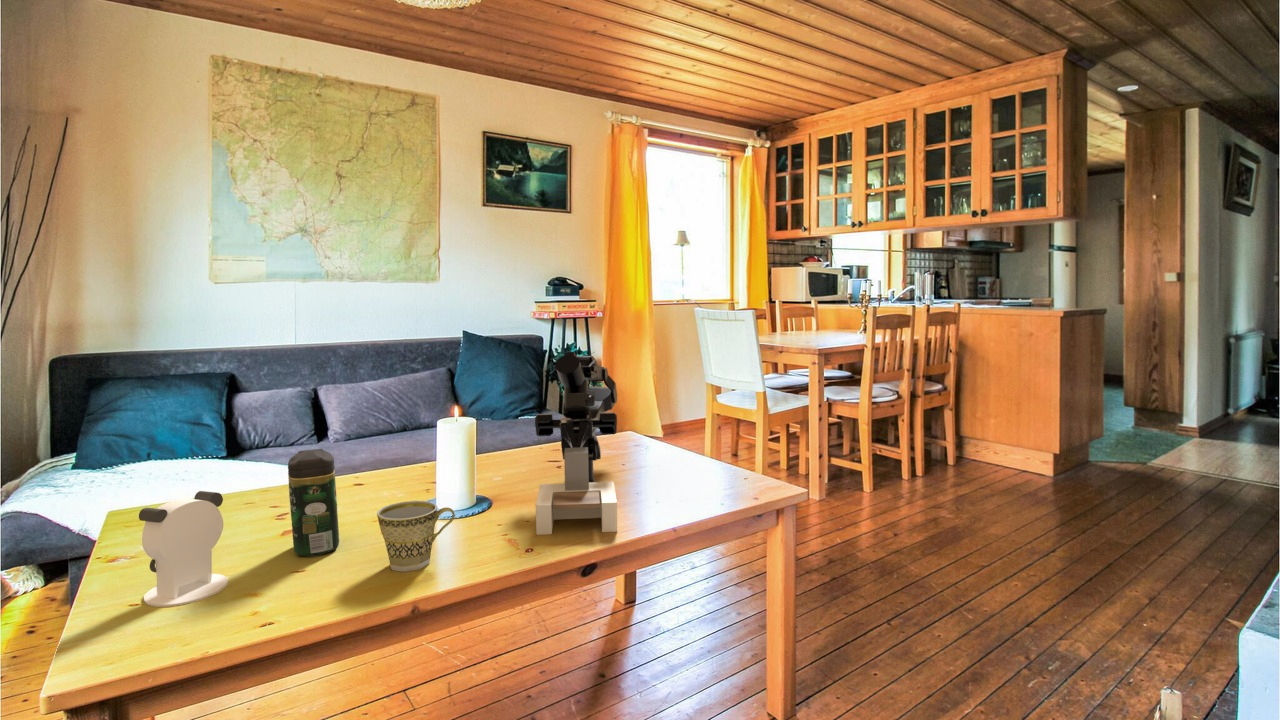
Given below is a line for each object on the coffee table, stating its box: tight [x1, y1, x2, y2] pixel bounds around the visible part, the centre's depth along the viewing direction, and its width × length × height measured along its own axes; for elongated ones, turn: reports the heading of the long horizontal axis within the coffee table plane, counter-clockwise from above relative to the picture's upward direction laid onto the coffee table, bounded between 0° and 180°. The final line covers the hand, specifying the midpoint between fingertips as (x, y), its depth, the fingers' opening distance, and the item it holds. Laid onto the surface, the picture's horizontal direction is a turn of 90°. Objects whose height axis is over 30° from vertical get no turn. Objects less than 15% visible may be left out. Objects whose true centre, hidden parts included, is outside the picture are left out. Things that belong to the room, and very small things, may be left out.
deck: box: [535, 481, 618, 536], centre depth 139 cm, size 14×16×6 cm
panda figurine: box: [138, 490, 229, 608], centre depth 108 cm, size 12×11×15 cm
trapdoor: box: [553, 491, 600, 509], centre depth 136 cm, size 9×9×1 cm
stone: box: [563, 447, 589, 491], centre depth 143 cm, size 5×5×8 cm
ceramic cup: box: [376, 500, 455, 573], centre depth 118 cm, size 13×10×10 cm
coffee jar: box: [287, 448, 340, 557], centre depth 125 cm, size 10×8×19 cm
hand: (576, 455), depth 150 cm, fingers closed
